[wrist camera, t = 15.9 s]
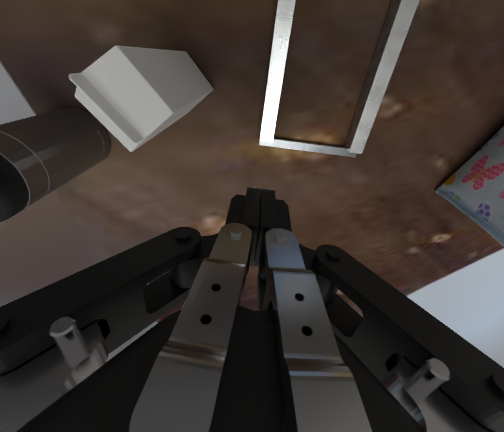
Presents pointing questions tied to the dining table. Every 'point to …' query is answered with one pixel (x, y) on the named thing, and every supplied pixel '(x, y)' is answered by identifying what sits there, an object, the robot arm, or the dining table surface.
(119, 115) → the milk
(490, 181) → the lunch bag
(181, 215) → the dining table surface
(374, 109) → the rail chute
